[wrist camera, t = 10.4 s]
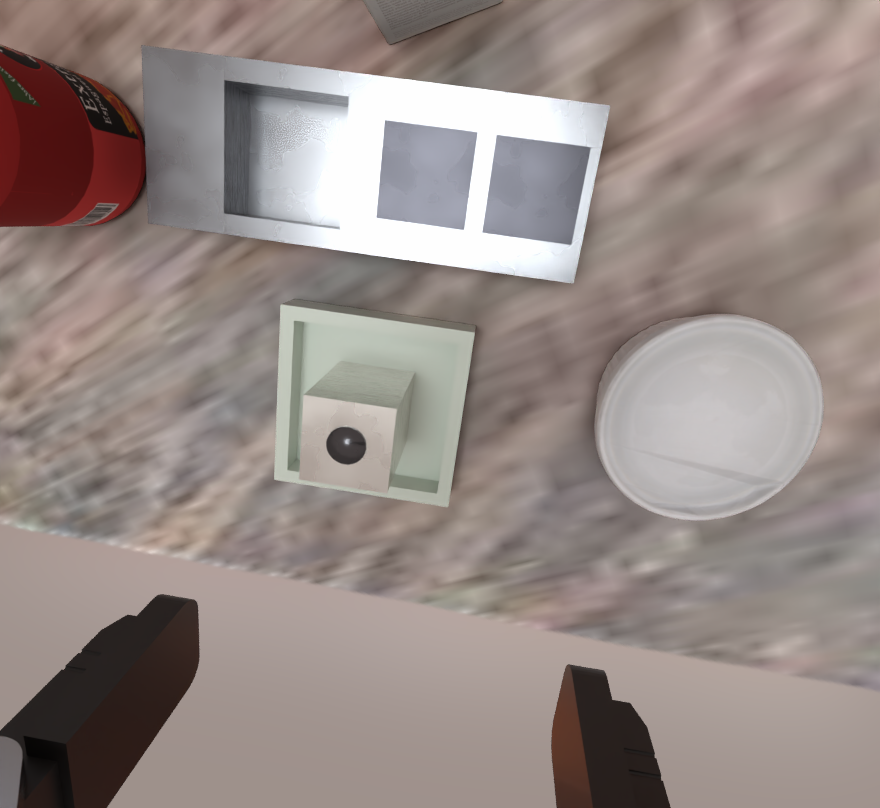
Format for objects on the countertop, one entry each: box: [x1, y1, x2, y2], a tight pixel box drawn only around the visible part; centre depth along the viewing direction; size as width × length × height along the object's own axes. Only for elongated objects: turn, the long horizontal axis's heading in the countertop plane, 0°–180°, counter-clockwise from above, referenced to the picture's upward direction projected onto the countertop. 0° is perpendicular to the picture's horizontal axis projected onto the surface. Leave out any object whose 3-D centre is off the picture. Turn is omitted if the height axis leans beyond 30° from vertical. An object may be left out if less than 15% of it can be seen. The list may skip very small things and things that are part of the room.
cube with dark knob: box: [299, 361, 415, 493], centre depth 31 cm, size 5×5×7 cm
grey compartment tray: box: [141, 45, 610, 283], centre depth 28 cm, size 22×8×4 cm, turn 82°
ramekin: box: [594, 314, 824, 521], centre depth 31 cm, size 11×11×5 cm
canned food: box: [0, 45, 146, 227], centre depth 26 cm, size 8×8×11 cm
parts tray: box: [274, 299, 476, 507], centre depth 33 cm, size 11×11×2 cm
